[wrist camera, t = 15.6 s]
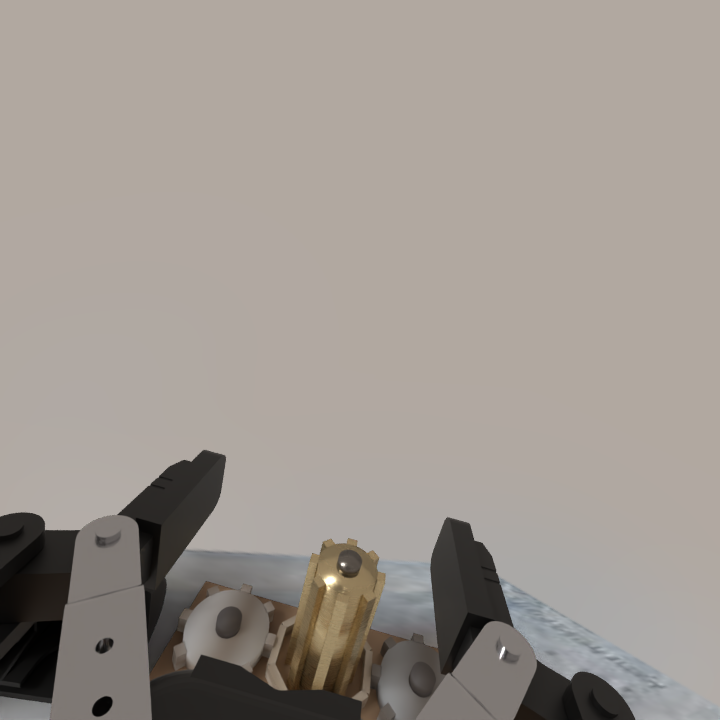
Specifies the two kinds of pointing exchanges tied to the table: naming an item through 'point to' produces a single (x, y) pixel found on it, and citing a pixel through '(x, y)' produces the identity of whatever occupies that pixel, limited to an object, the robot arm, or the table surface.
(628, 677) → the table surface
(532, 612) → the table surface
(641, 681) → the table surface
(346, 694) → the gear board
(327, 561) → the pinion
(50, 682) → the end cap
